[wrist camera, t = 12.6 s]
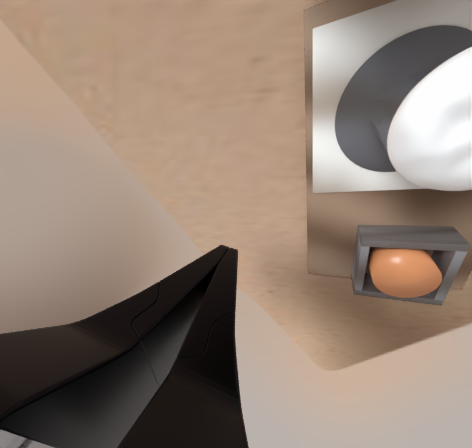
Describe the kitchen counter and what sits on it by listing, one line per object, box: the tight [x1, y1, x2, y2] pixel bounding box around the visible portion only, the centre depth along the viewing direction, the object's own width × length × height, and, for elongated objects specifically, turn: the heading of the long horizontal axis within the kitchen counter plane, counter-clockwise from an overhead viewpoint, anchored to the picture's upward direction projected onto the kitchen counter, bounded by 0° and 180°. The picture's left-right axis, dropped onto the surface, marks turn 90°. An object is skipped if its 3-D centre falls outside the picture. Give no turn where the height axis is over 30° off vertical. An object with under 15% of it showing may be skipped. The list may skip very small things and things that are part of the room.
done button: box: [367, 247, 442, 298], centre depth 17 cm, size 4×4×3 cm
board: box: [304, 0, 472, 305], centre depth 14 cm, size 22×13×3 cm, turn 12°
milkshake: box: [369, 47, 472, 191], centre depth 9 cm, size 4×5×10 cm
